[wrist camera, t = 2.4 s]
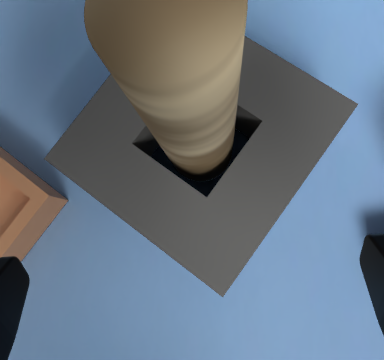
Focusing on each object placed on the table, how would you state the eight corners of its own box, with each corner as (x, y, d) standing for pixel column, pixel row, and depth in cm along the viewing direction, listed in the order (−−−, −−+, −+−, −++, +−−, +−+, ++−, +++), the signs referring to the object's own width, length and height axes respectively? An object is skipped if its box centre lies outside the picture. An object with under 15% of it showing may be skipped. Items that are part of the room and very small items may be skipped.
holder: (333, 128, 21) (358, 104, 17) (222, 285, 20) (222, 297, 16) (182, 34, 23) (174, -7, 20) (75, 172, 22) (44, 158, 18)
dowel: (244, 143, 22) (281, -18, 8) (208, 194, 21) (180, 114, 8) (194, 110, 22) (149, -92, 9) (158, 158, 22) (52, 27, 8)
